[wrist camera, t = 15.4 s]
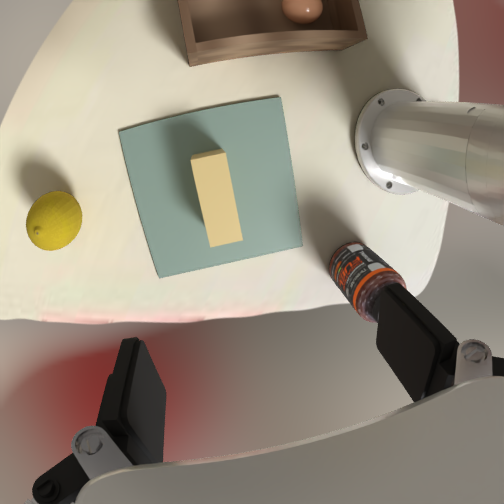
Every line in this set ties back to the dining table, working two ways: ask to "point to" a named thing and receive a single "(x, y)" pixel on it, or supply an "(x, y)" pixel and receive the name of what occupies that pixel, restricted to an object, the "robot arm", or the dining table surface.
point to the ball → (302, 10)
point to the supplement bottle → (362, 278)
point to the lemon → (54, 220)
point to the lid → (214, 185)
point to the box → (264, 29)
